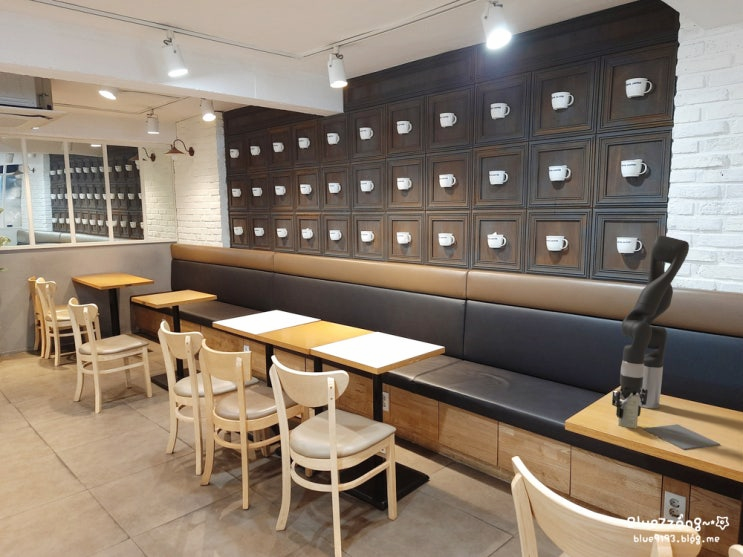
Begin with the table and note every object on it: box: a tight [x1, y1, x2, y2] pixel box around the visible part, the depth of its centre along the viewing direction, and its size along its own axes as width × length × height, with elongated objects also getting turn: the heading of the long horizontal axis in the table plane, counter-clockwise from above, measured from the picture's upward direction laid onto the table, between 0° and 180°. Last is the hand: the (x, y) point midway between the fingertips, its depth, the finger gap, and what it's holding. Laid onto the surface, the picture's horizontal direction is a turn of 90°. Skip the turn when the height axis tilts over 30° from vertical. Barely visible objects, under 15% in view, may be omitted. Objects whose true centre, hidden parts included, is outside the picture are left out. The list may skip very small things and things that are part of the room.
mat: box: [642, 424, 721, 451], centre depth 181 cm, size 17×16×1 cm
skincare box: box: [617, 394, 639, 429], centre depth 189 cm, size 6×4×12 cm
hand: (627, 416), depth 190 cm, fingers closed on skincare box, 7 cm apart
